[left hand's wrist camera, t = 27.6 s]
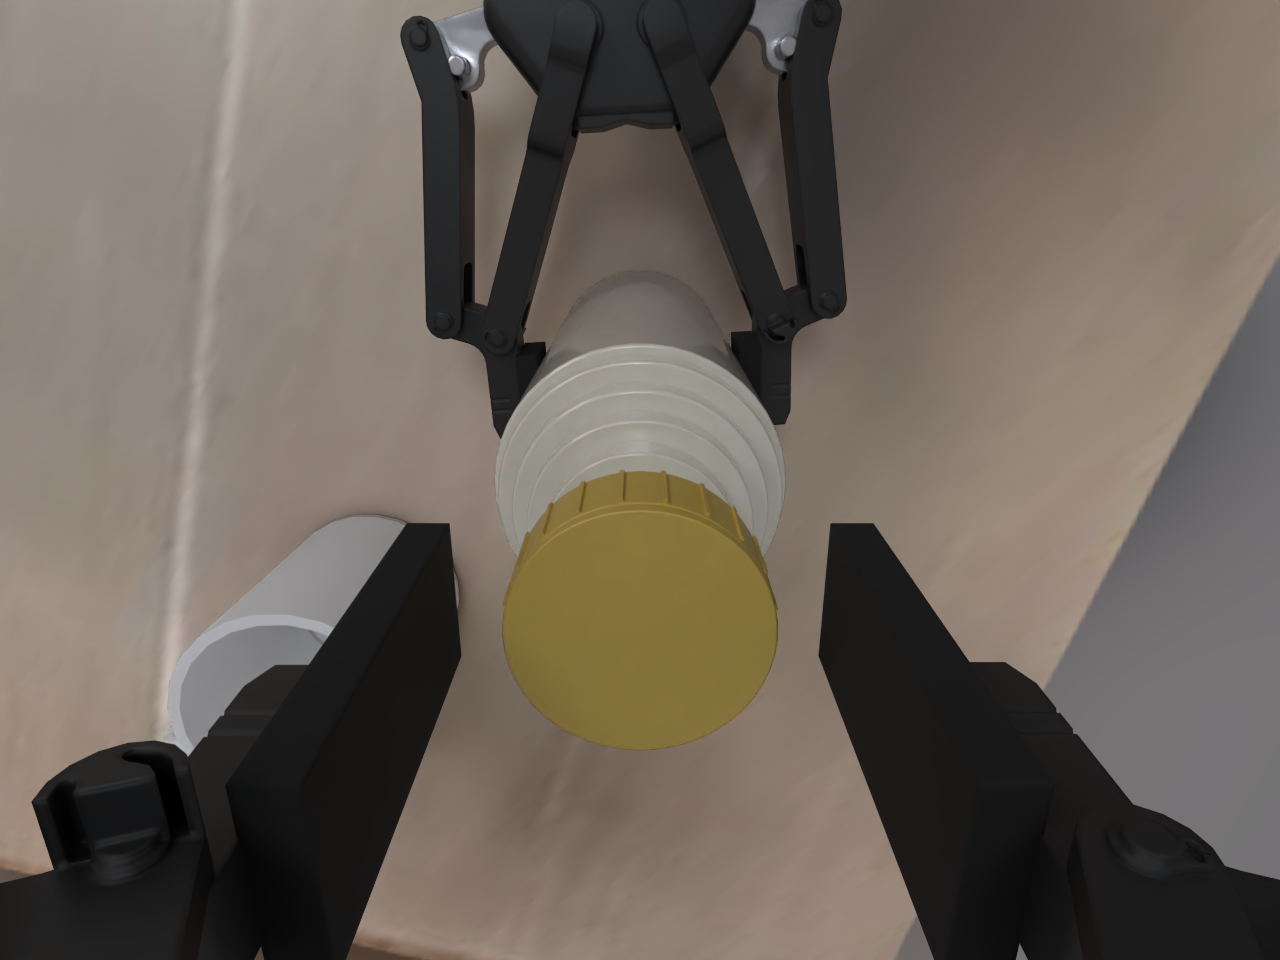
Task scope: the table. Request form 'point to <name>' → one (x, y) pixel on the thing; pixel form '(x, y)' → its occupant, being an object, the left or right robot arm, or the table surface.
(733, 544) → the cap
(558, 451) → the bottle
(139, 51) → the table surface
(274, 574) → the mug
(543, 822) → the table surface
